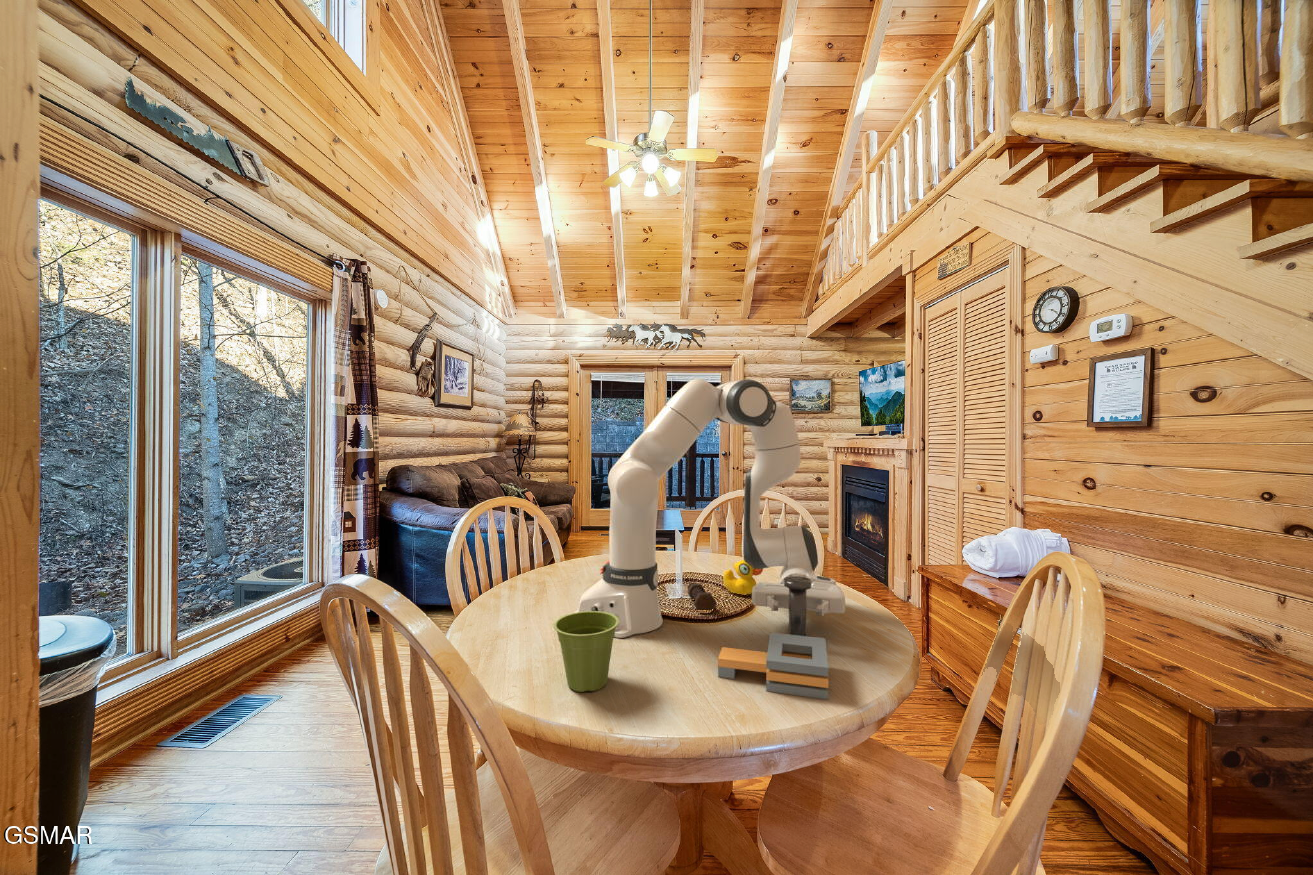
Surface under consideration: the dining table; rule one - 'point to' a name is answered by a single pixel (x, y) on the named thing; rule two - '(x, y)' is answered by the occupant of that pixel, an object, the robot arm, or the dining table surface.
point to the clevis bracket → (783, 664)
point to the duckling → (746, 580)
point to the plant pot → (586, 647)
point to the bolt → (701, 597)
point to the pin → (797, 603)
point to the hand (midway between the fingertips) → (797, 609)
